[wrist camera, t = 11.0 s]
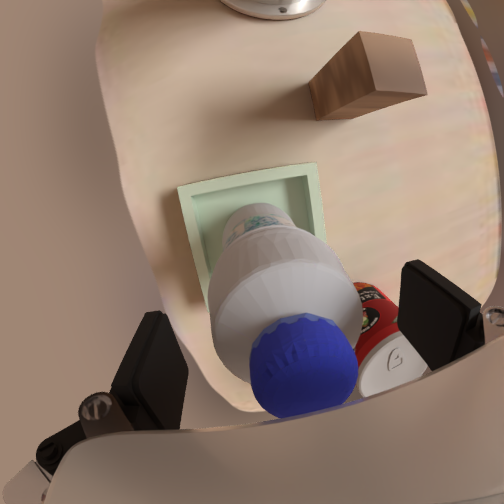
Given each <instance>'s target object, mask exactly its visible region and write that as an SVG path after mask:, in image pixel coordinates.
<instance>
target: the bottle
mask: <svg viewBox="0 0 504 504" xmlns="http://www.w3.org/2000/svg"><path fill="white" fill-rule="evenodd" d="M222 245H223V253H222V254H221V256H220V258H219V259H218V261H217V263H216V265H215V268H214V271H213V273H212V276H211V279H210V282H209V287H208V296H207V298H208V308H209V312H210V320H211V331H212V338H213V343H214V348H215V350H216V352H217V355H218V356H219V358H220V359H221V361H222V362H223V364H224V365H225V367H226V368H227V369H229V370H230V371H231V372H232V373H233V374H234V375H235V376H237V377H238V378H240V379H242V380H243V381H245V382H248V383H250V384H251V386H252V390H253V393H254V396H255V398H256V400H257V401H258V403H259V404H260V405H261V407H262V408H263V409H265V410H266V411H268V412H269V413H270V414H272V415H274V416H276V417H278V418H287V417H292V416H296V415H301V414H306V413H310V412H315V411H319V410H323V409H327V408H331V407H334V406H338V405H341V404H342V403H344V402H345V401H346V399H347V398H348V397H349V396H350V394H351V393H352V391H353V389H354V387H355V385H356V382H357V378H358V361H357V358H356V355H355V352H354V350H353V349H354V347H355V346H356V343H357V341H358V339H359V336H360V333H361V328H362V323H363V310H362V303H361V300H360V297H359V294H358V292H357V290H356V288H355V286H354V285H353V283H352V281H351V280H350V278H349V276H348V275H347V273H346V271H345V270H344V268H343V265H342V263H341V261H340V259H339V258H338V256H337V255H336V253H335V252H334V251H333V250H332V249H331V248H330V247H329V246H328V245H327V244H326V243H325V242H323V241H322V240H320V239H319V238H317V237H315V236H314V235H312V234H311V233H309V232H307V231H305V230H303V229H300V228H297V227H296V226H295V224H294V223H293V221H292V220H291V218H290V217H289V216H288V215H287V214H286V213H285V212H284V211H282V210H281V209H279V208H278V207H276V206H274V205H271V204H269V203H253V204H249V205H245V206H243V207H241V208H239V209H238V210H237V211H236V212H235V213H234V214H233V215H232V216H231V217H230V219H229V220H228V222H227V224H226V226H225V228H224V232H223V239H222Z"/></svg>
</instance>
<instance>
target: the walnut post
mask: <svg viewBox="0 0 504 504" xmlns="http://www.w3.org/2000/svg"><path fill="white" fill-rule="evenodd" d="M309 87H310V91H311V96H312V101H313V105H314V110H315V115H316V120H331V119H350V118H356V117H359V116H362V115H365V114H367V113H370V112H373V111H376V110H379V109H382V108H385V107H388V106H391V105H395V104H398V103H401V102H404V101H408V100H411V99H414V98H418V97H421V96H425V95H427V90H426V86H425V82H424V78H423V75H422V71H421V68H420V64H419V61H418V58H417V54H416V51H415V48H414V45H413V43H412V40H411V39H406V38H401V37H396V36H390V35H384V34H378V33H371V32H362V31H359V32H357V33H356V34H355V35H354V36H353V37H352V38H351V39H350V40H349V41H348V42H347V43H346V44H345V45H344V46H343V47H342V48H341V49H340V50H339V51H338V52H337V53H336V54H335V55H334V56H333V57H332V58H331V59H330V60H329V61H328V63H327V64H326V65H325V66H324V67H323V68H322V69H321V70H320V71H319V72H318V73H317V74H316V75H315V76H314V77H313V78H312V79H311V81H310V82H309Z"/></svg>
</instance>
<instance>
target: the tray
mask: <svg viewBox="0 0 504 504" xmlns="http://www.w3.org/2000/svg"><path fill="white" fill-rule="evenodd" d="M177 190H178V194H179V199H180V204H181V208H182V213H183V217H184V222H185V226H186V230H187V234H188V239H189V243H190V247H191V251H192V255H193V259H194V263H195V267H196V270H197V274H198V278H199V282H200V286H201V289H202V293H203V296H204V300H205V304H206V307H207V311H208V313H209V308H208V298H207V296H208V287H209V282H210V279H211V276H212V273H213V271H214V268H215V265H216V263H217V261H218V259H219V258H220V256H221V254H222V253H223V245H222V239H223V232H224V228H225V226H226V224H227V222H228V220H229V219H230V217H231V216H232V215H233V214H234V213H235V212H236V211H237V210H238V209H239V208H241V207H243V206H245V205H249V204H253V203H269V204H271V205H274V206H276V207H278V208H279V209H281V210H282V211H284V212H285V213H286V214H287V215H288V216H289V217H290V218H291V220H292V221H293V223H294V224H295V226H296V227H297V228H300V229H303V230H305V231H307V232H309V233H311V234H312V235H314V236H315V237H317V238H319V239H320V240H322V241H323V242H325V243H326V244H327V241H326V232H325V223H324V214H323V206H322V198H321V191H320V183H319V177H318V170H317V164H316V162H309V163H301V164H294V165H287V166H280V167H274V168H268V169H262V170H256V171H250V172H245V173H239V174H234V175H229V176H223V177H218V178H214V179H209V180H204V181H199V182H195V183H190V184H186V185H182V186H179V187H177Z"/></svg>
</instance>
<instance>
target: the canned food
mask: <svg viewBox="0 0 504 504" xmlns="http://www.w3.org/2000/svg"><path fill="white" fill-rule="evenodd" d="M353 285H354V286H355V288H356V290H357V292H358V294H359V297H360V300H361V303H362V310H363V323H362V328H361V333H360V336H359V339H358V341H357V343H356V346H355V347H354V349H353V350H354V352H355V355H356V358H357V361H358V378H357V382H356V387H357V389H358V391H359V392H360V394H361V395H362V396H363V397H364V398H365V397H368V396H371V395H374V394H377V393H380V392H382V391H385V390H388V389H391V388H393V387H396V386H399V385H401V384H404V383H406V382H409V381H411V380H414V379H416V378H418V377H421V375H422V374H423V372H424V371H425V369H426V367H427V364H426V363H425V361H424V360H423V359H422V357H421V356H420V355H419V354H418V352H417V351H416V350H415V349H414V347H413V346H412V345H411V344H410V342H409V341H408V340H407V339H406V338H405V336H404V335H403V334H402V333H401V331H400V330H399V329H398V326H397V317H398V309H399V308H398V307H397V306H396V305H395V304H394V303H393V302H392V301H391V300H390V299H389V298H388V297H387V296H385V295H384V294H383V293H382V292H381V291H380V290H379V289H378V288H376V287H375V286H373V285H370V284H367V283H353Z"/></svg>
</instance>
